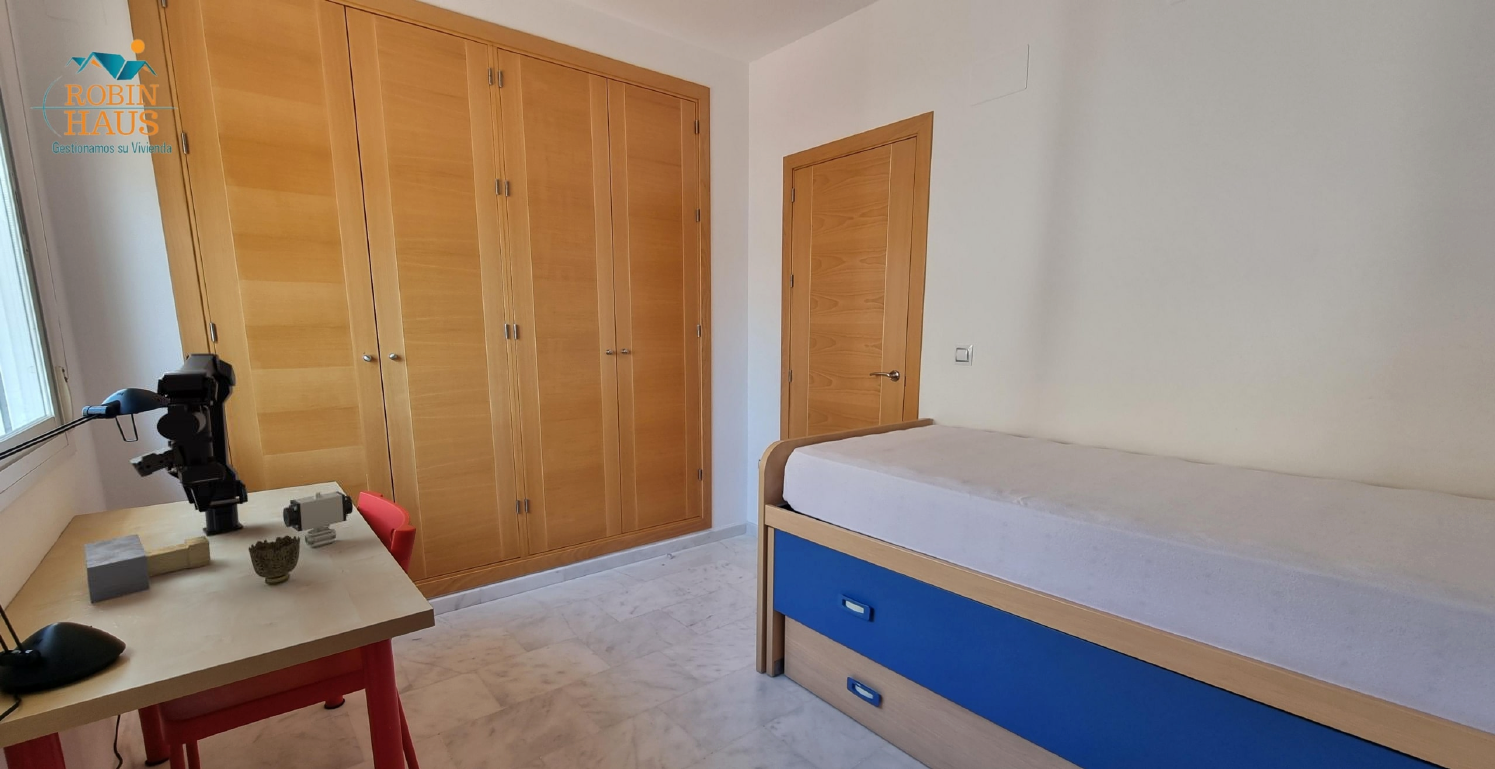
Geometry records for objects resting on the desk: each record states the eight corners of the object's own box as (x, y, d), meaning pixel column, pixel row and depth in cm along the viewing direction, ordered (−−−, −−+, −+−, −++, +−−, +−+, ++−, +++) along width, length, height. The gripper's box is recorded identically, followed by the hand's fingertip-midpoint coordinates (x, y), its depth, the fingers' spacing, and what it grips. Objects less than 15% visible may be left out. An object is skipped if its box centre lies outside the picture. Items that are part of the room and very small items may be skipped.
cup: (300, 570, 109) (298, 532, 108) (305, 582, 104) (302, 542, 103) (250, 582, 104) (247, 541, 103) (252, 595, 99) (249, 552, 98)
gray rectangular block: (140, 564, 112) (137, 534, 111) (149, 589, 101) (146, 555, 100) (87, 576, 106) (83, 544, 106) (90, 603, 95) (87, 568, 95)
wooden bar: (206, 557, 115) (204, 535, 114) (210, 563, 112) (209, 541, 111) (96, 582, 103) (94, 558, 103) (97, 590, 100) (95, 565, 100)
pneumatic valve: (355, 538, 126) (352, 488, 125) (291, 554, 117) (287, 500, 116) (346, 533, 130) (343, 484, 129) (284, 548, 120) (280, 496, 119)
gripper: (125, 433, 109) (132, 508, 110) (139, 445, 98) (147, 528, 100) (202, 426, 118) (208, 496, 119) (223, 436, 107) (229, 512, 109)
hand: (198, 507), depth 112 cm, fingers open, 9 cm apart
